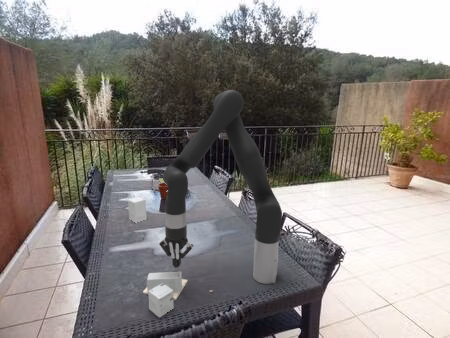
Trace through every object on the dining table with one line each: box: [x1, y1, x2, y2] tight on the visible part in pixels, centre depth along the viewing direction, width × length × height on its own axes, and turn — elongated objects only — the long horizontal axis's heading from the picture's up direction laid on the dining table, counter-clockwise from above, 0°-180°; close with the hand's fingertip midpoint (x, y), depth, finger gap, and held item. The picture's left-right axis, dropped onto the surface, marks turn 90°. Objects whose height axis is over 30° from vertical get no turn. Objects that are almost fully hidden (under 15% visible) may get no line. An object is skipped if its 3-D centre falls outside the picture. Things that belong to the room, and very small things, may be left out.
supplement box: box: [127, 196, 148, 224], centre depth 163 cm, size 7×7×13 cm
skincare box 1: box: [146, 271, 183, 293], centre depth 105 cm, size 6×4×12 cm
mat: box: [142, 278, 189, 301], centre depth 108 cm, size 13×11×1 cm
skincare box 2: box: [147, 283, 174, 318], centre depth 96 cm, size 6×6×7 cm
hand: (176, 266), depth 105 cm, fingers closed
